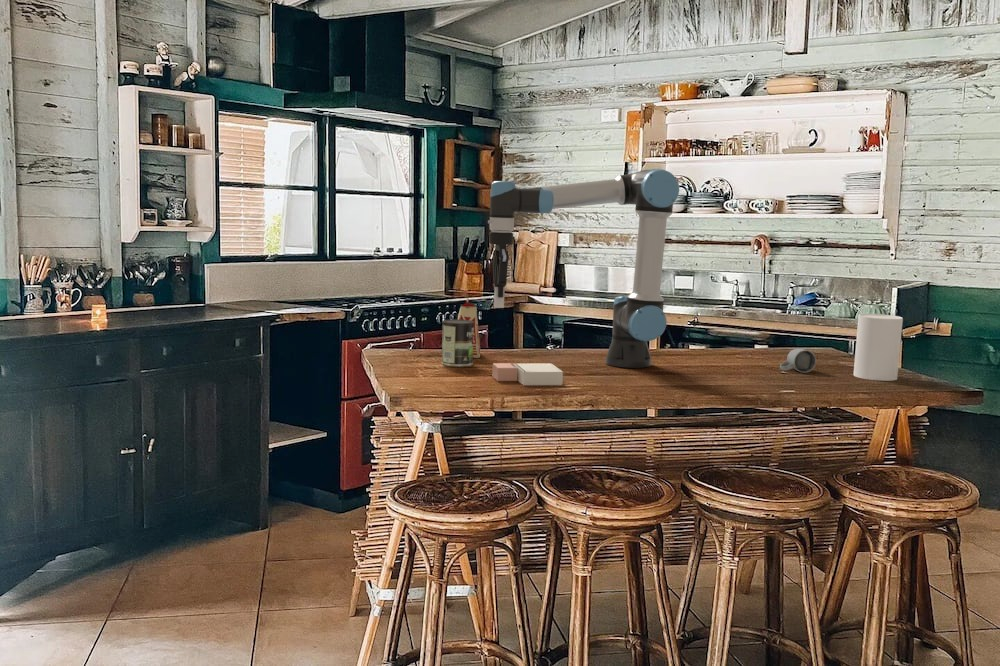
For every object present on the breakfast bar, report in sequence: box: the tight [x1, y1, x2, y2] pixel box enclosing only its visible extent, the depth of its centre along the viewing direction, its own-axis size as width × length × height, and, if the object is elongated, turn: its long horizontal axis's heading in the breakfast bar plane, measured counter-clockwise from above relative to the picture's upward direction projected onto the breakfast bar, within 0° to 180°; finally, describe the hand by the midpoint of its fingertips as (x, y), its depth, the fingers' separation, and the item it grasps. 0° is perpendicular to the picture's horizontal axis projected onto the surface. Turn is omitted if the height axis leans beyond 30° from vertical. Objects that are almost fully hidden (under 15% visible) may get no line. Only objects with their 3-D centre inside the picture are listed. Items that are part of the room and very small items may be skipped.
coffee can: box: [441, 318, 474, 367], centre depth 321 cm, size 10×10×14 cm
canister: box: [853, 313, 904, 382], centre depth 322 cm, size 14×14×20 cm
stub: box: [491, 362, 518, 382], centre depth 298 cm, size 6×8×4 cm
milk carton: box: [457, 298, 481, 359], centre depth 338 cm, size 9×9×20 cm
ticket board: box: [512, 362, 564, 386], centre depth 297 cm, size 12×14×4 cm
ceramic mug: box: [779, 348, 817, 374], centre depth 329 cm, size 11×8×8 cm
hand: (498, 307), depth 307 cm, fingers closed
